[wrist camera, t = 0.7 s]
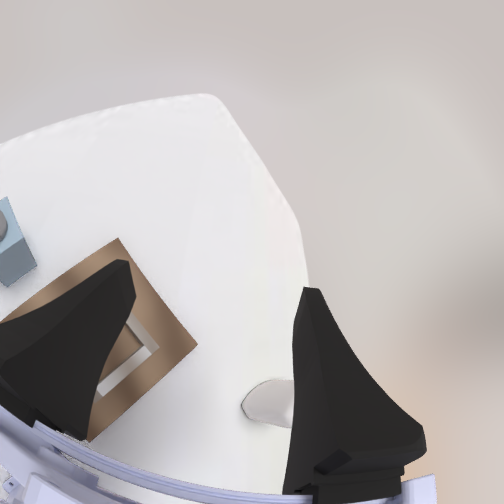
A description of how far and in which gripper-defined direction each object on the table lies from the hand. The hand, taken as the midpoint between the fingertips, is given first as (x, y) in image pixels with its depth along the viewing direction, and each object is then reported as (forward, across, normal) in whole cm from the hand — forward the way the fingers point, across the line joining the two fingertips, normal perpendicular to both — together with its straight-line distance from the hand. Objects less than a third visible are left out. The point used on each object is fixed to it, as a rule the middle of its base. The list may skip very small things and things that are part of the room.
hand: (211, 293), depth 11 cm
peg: (+5, +21, +5) cm, 22 cm away
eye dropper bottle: (+6, -4, +22) cm, 23 cm away
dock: (+4, +12, +12) cm, 17 cm away
